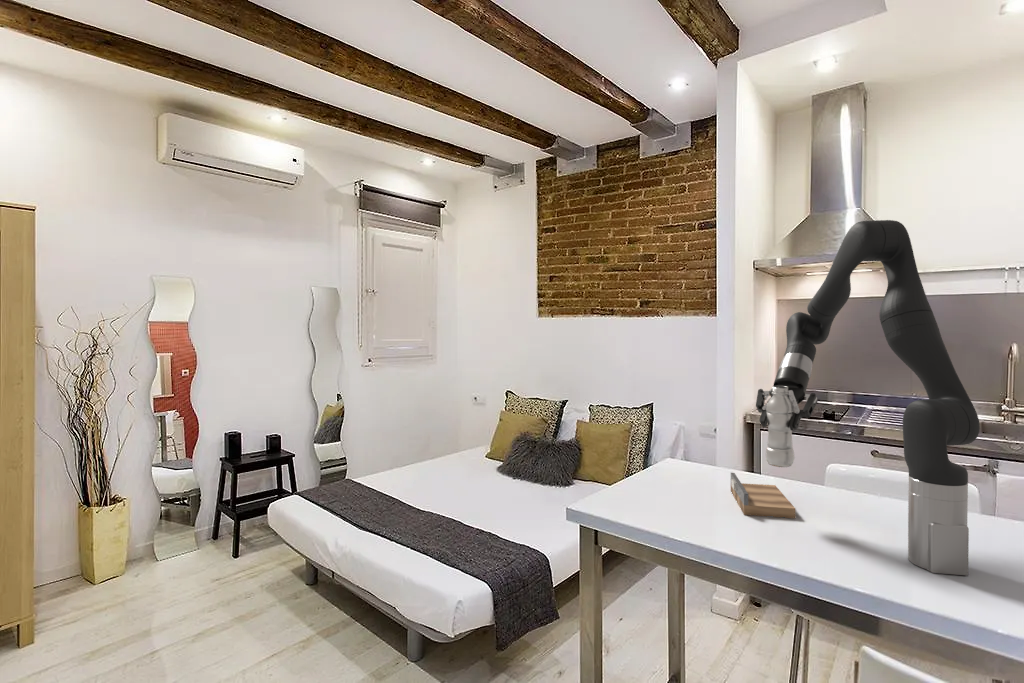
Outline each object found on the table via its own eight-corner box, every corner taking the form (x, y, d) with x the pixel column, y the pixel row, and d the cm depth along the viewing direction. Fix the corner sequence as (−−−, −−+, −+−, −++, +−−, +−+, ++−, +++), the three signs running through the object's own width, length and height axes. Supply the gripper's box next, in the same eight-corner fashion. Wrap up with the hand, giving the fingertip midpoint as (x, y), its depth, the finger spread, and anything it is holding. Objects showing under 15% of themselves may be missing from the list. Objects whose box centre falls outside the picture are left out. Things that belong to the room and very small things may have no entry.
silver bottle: (761, 466, 131) (761, 387, 130) (770, 461, 136) (771, 384, 134) (789, 472, 126) (789, 389, 125) (798, 465, 131) (798, 386, 130)
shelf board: (795, 518, 131) (795, 508, 131) (744, 514, 134) (744, 505, 134) (775, 493, 151) (775, 485, 151) (730, 491, 154) (730, 482, 153)
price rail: (748, 505, 134) (748, 493, 134) (741, 505, 134) (741, 493, 134) (734, 482, 153) (734, 472, 153) (728, 482, 154) (728, 472, 154)
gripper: (761, 363, 140) (743, 414, 132) (821, 366, 130) (805, 421, 122) (768, 381, 144) (751, 431, 136) (827, 385, 134) (812, 440, 126)
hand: (777, 426), depth 129 cm, fingers closed on silver bottle, 6 cm apart
